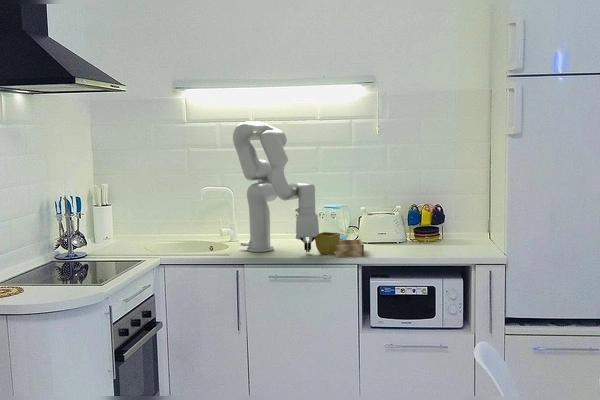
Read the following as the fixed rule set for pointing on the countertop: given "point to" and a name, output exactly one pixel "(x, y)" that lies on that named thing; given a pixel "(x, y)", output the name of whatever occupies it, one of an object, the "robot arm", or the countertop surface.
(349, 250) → the frame
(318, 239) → the flower pot
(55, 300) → the countertop surface
